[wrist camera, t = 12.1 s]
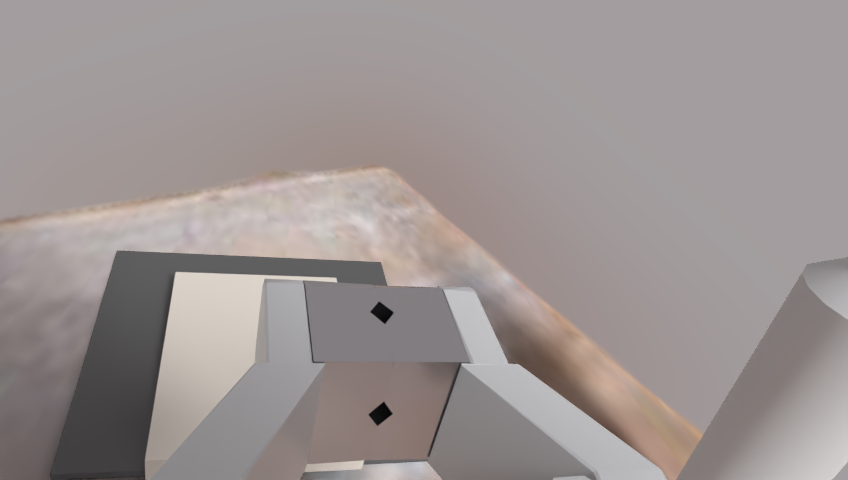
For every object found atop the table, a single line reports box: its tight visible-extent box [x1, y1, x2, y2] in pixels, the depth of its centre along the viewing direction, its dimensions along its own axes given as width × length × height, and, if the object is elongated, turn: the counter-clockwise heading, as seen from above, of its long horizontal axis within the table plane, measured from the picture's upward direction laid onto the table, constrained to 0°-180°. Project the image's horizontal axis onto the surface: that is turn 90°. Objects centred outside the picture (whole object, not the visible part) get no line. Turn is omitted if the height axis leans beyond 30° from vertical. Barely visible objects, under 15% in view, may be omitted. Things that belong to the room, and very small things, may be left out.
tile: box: [145, 272, 364, 480], centre depth 36 cm, size 10×2×14 cm
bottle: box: [676, 257, 848, 480], centre depth 26 cm, size 5×5×25 cm
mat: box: [50, 251, 428, 480], centre depth 38 cm, size 18×18×1 cm
